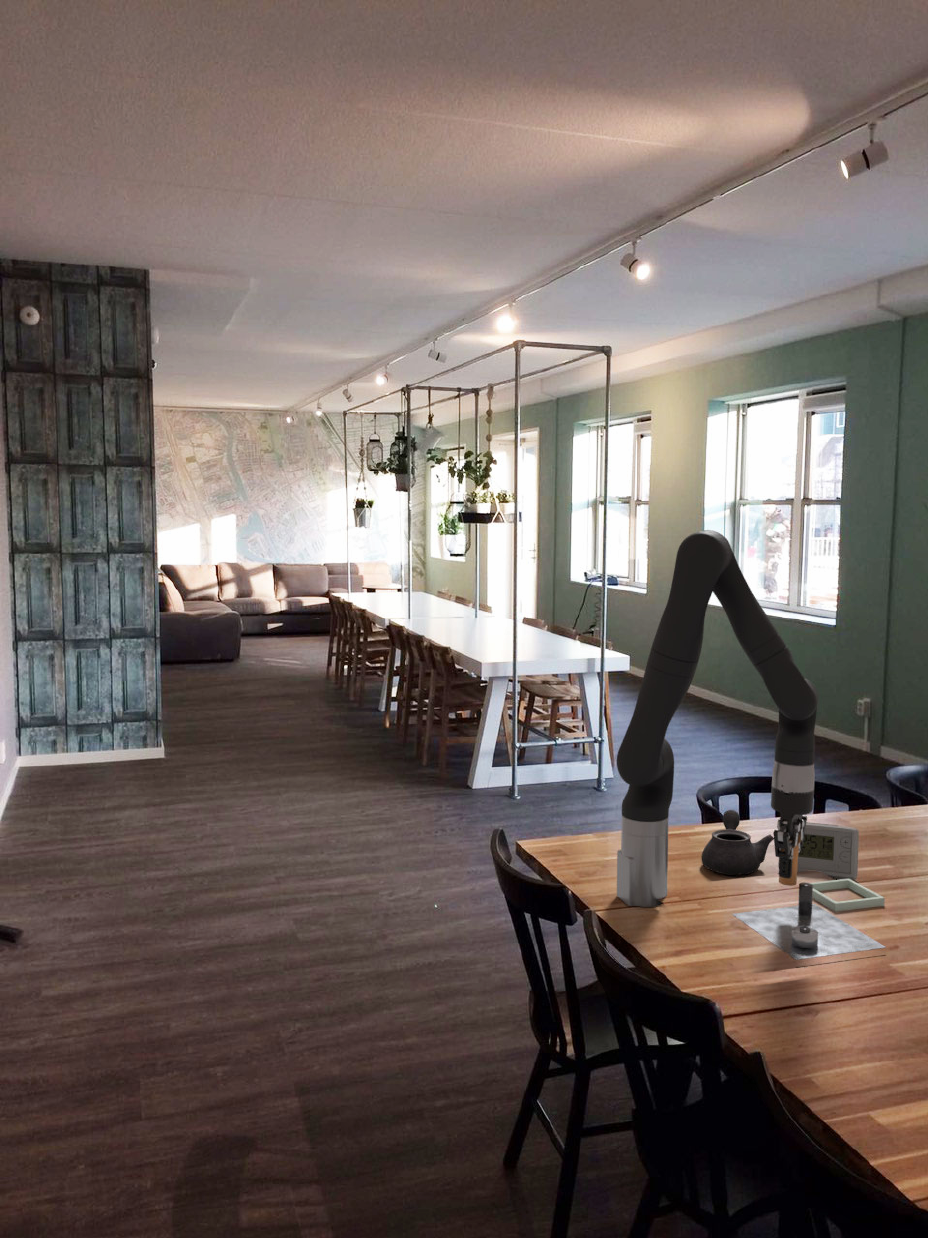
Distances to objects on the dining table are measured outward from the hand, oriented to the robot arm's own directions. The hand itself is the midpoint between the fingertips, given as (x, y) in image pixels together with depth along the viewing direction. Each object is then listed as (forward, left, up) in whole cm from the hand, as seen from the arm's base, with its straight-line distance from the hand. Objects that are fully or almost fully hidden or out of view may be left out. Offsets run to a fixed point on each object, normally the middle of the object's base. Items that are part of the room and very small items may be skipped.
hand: (788, 874), depth 195 cm
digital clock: (+21, +21, -10) cm, 31 cm away
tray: (+15, +4, -9) cm, 18 cm away
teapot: (+8, +32, -10) cm, 34 cm away
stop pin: (0, 0, -2) cm, 2 cm away
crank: (-2, -8, -8) cm, 11 cm away
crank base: (-1, -7, -9) cm, 12 cm away
